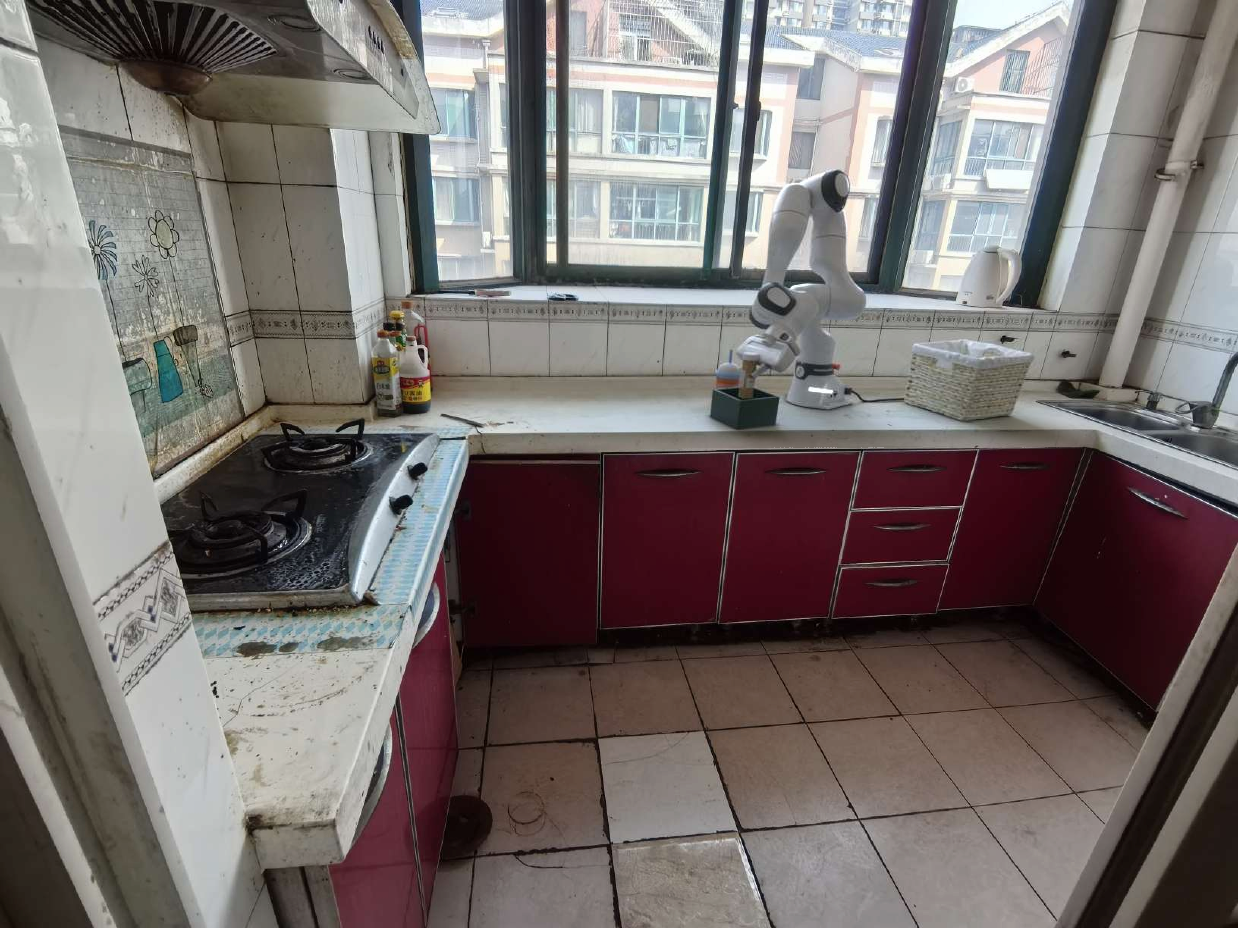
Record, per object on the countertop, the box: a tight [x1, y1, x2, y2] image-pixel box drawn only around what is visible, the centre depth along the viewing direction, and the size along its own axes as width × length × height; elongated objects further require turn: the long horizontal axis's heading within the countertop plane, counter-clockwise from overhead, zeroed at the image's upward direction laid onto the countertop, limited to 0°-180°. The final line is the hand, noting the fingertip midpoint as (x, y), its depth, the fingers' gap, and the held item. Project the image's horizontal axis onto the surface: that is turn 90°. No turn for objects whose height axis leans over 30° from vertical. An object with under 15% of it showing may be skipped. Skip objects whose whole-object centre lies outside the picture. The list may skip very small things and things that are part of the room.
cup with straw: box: [714, 349, 741, 389], centre depth 194 cm, size 9×9×18 cm
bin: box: [709, 386, 781, 430], centre depth 179 cm, size 15×14×9 cm
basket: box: [903, 338, 1035, 422], centre depth 199 cm, size 27×27×22 cm
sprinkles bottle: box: [738, 352, 759, 399], centre depth 176 cm, size 5×5×14 cm
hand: (746, 374), depth 175 cm, fingers closed on sprinkles bottle, 4 cm apart
